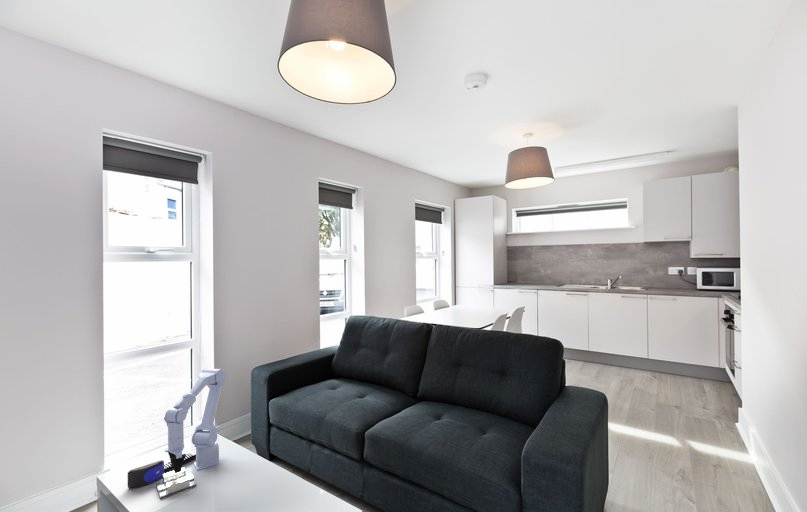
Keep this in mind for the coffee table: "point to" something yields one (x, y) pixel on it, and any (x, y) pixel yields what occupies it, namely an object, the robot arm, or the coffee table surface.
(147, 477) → the leaning round-cornered charcoal block
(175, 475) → the rail plate
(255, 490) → the coffee table surface
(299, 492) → the coffee table surface
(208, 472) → the coffee table surface
